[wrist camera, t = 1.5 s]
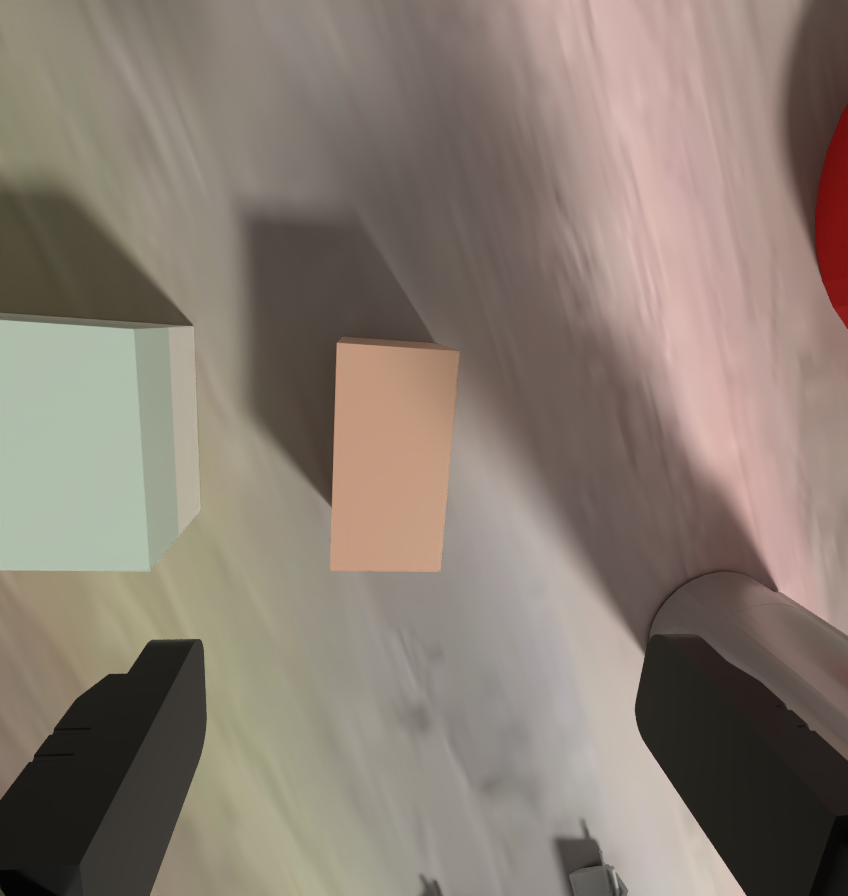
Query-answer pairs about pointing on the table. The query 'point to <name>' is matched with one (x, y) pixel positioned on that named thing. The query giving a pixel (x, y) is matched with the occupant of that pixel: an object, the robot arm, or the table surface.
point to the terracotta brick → (391, 454)
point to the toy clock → (834, 220)
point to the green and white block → (95, 442)
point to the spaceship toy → (597, 881)
